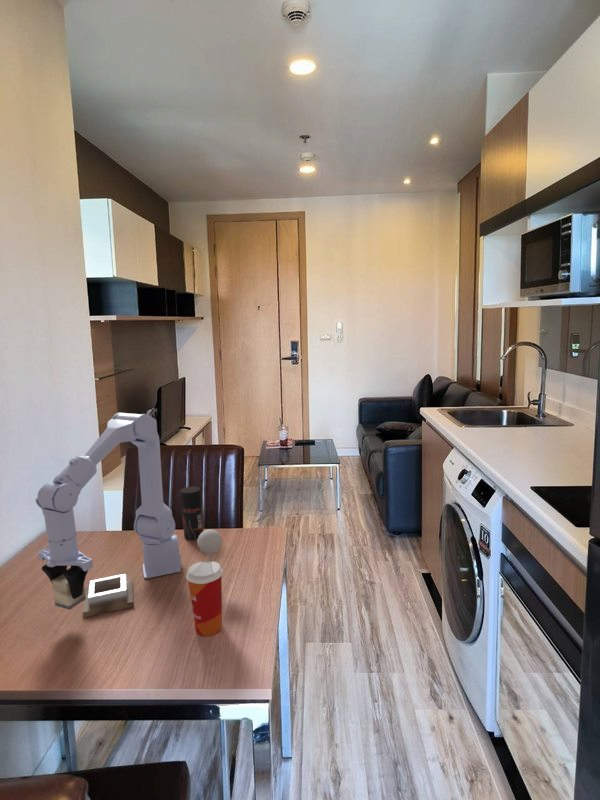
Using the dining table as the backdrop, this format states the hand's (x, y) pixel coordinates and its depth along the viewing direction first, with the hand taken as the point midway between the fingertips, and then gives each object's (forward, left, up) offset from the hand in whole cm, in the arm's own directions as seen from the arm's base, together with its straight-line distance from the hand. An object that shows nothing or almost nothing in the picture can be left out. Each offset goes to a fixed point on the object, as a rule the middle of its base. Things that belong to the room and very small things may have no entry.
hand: (69, 594), depth 112 cm
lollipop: (-32, -3, -8) cm, 33 cm away
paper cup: (-28, +14, -8) cm, 32 cm away
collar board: (-7, -8, -7) cm, 13 cm away
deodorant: (-32, -36, -8) cm, 49 cm away
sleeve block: (0, 0, -2) cm, 2 cm away
